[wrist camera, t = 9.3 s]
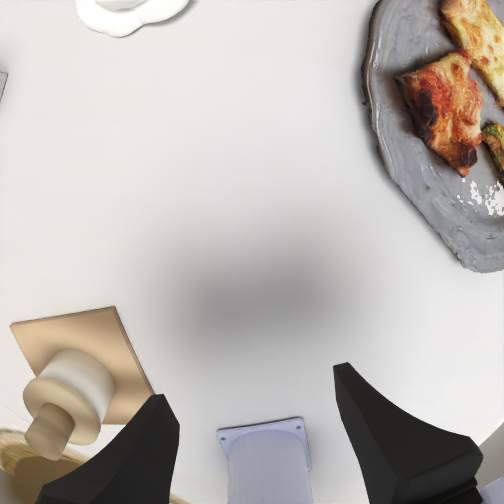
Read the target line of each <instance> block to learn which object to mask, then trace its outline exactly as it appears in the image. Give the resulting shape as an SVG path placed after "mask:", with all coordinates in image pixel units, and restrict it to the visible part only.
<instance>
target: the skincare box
mask: <svg viewBox="0 0 504 504" xmlns="http://www.w3.org/2000/svg"><path fill="white" fill-rule="evenodd" d="M6 79H7V73H3V72H0V99H1V95H2V92H3V88H4V85H5V82H6Z"/></svg>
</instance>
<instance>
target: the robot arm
mask: <svg viewBox="0 0 504 504" xmlns="http://www.w3.org/2000/svg"><path fill="white" fill-rule="evenodd" d="M333 371H334V381H335V392H336V401H337V405H338V409H339V412H340V416H341V419H342V422H343V424H344V427H345V429H346V432H347V434H348V437H349V439H350V442H351V444H352V447H353V449H354V451H355V454H356V456H357V459H358V462H359V465H360V467H361V471H362V475H363V479H364V482H365V486H366V490H367V494H368V498H369V503H370V504H504V476H502V477H501V478H499V479H497V480H496V481H494V482H492V483H490V484H489V485H487V486H486V487H484V488H483V489H482V490H480V491H479V492H478V490H477V488H476V486H477V481H476V479H475V477H474V476H475V474H476V472H477V471H478V469H479V467H480V465H481V463H482V460H483V454H482V452H481V451H480V449H479V448H478V446H477V445H476V444H475V443H474V441H473V440H472V439H471V438H470V437H468V436H464V435H460V434H456V433H452V432H449V431H446V430H443V429H440V428H437V427H435V426H433V425H431V424H428V423H426V422H424V421H422V420H420V419H418V418H416V417H414V416H412V415H410V414H409V413H407V412H405V411H404V410H402V409H401V408H399V407H398V406H396V405H395V404H393V403H392V402H391V401H389V400H388V399H387V398H385V397H384V396H383V395H382V394H380V393H379V392H378V391H377V390H376V389H375V388H373V387H372V386H371V385H370V384H369V383H368V382H367V381H366V380H365V379H364V378H363V377H362V376H361V375H360V374H359V373H358V372H357V371H356V370H355V369H354V368H353V367H352V365H351V364H350V363H348V362H346V363H342V364H338V365H334V366H333ZM179 430H180V424H179V422H178V421H177V419H176V417H175V415H174V413H173V411H172V409H171V407H170V405H169V404H168V402H167V400H166V398H165V396H164V394H157V395H151V396H150V397H149V398H148V399H147V400H146V402H145V403H144V404H143V405H142V406H141V408H140V409H139V410H138V411H137V413H136V414H135V415H134V416H133V417H132V419H131V420H130V421H129V422H128V423H127V425H126V426H125V427H124V428H123V429H122V430H121V431H120V432H119V433H118V434H117V436H116V437H115V438H114V439H113V440H112V441H111V442H110V443H109V444H108V445H107V446H106V447H105V448H103V449H102V450H101V451H100V452H99V453H98V454H96V455H95V456H94V457H93V458H91V459H90V460H88V461H87V462H86V463H84V464H83V465H82V466H80V467H78V468H77V469H75V470H74V471H72V472H70V473H69V474H67V475H65V476H63V477H61V478H59V479H56V480H54V481H52V482H50V483H47V484H45V485H43V487H42V489H41V491H40V493H39V496H38V498H37V500H36V503H35V504H169V496H170V487H171V481H172V476H173V471H174V466H175V461H176V456H177V451H178V445H179ZM223 437H224V438H223ZM217 438H218V440H219V442H220V444H221V446H222V448H223V450H224V452H225V454H226V456H227V458H228V460H229V476H228V504H314V503H313V497H312V491H311V485H310V479H309V474H308V472H309V471H311V470H312V466H311V461H310V455H309V450H308V444H307V439H306V433H305V428H304V423H303V419H301V418H295V419H290V420H285V421H279V422H274V423H268V424H261V425H255V426H248V427H241V428H233V429H225V430H219V431H217Z"/></svg>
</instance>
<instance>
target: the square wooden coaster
mask: <svg viewBox="0 0 504 504" xmlns="http://www.w3.org/2000/svg"><path fill="white" fill-rule="evenodd" d="M9 327H10V329H11V331H12V333H13V335H14V337H15V339H16V341H17V343H18V345H19V347H20V349H21V351H22V353H23V354H24V356H25V358H26V360H27V362H28V363H29V365H30V367H31V369H32V370H33V372H34V374H35V376H36V377H38V376H39V375H40V374H41V372H42V371H43V370H44V368H45V367H46V366H47V365H48V363H49V362H50V361H51V359H52V358H53V357H54V356H55V354H56V353H57V352H59V351H60V350H63V349H70V348H71V349H77V350H80V351H83V352H85V353H88V354H89V355H91V356H93V357H94V358H96V359H97V360H98V361H100V362H101V363H102V364H103V365H104V366H105V367H106V369H107V370H108V371H109V372H110V374H111V376H112V378H113V380H114V383H115V387H116V391H115V395H114V398H113V400H112V402H111V404H110V406H109V408H108V411H107V413H106V415H105V417H104V420H103V422H102V424H127V423H128V422H129V421H130V420H131V419H132V417H133V416H134V415H135V414H136V413H137V411H138V410H139V409H140V408H141V406H142V405H143V404H144V403H145V402H146V400H147V399H148V398H149V397H150V396H151V395H155V394H154V392H153V390H152V388H151V386H150V384H149V382H148V380H147V378H146V376H145V374H144V372H143V370H142V368H141V366H140V363H139V361H138V359H137V357H136V355H135V353H134V351H133V348H132V346H131V344H130V342H129V339H128V337H127V335H126V333H125V330H124V328H123V326H122V323H121V321H120V318H119V316H118V314H117V311H116V309H115V306H114V307H108V308H103V309H97V310H91V311H85V312H79V313H73V314H68V315H61V316H55V317H49V318H43V319H37V320H31V321H24V322H18V323H12V324H11V325H10V326H9Z"/></svg>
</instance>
